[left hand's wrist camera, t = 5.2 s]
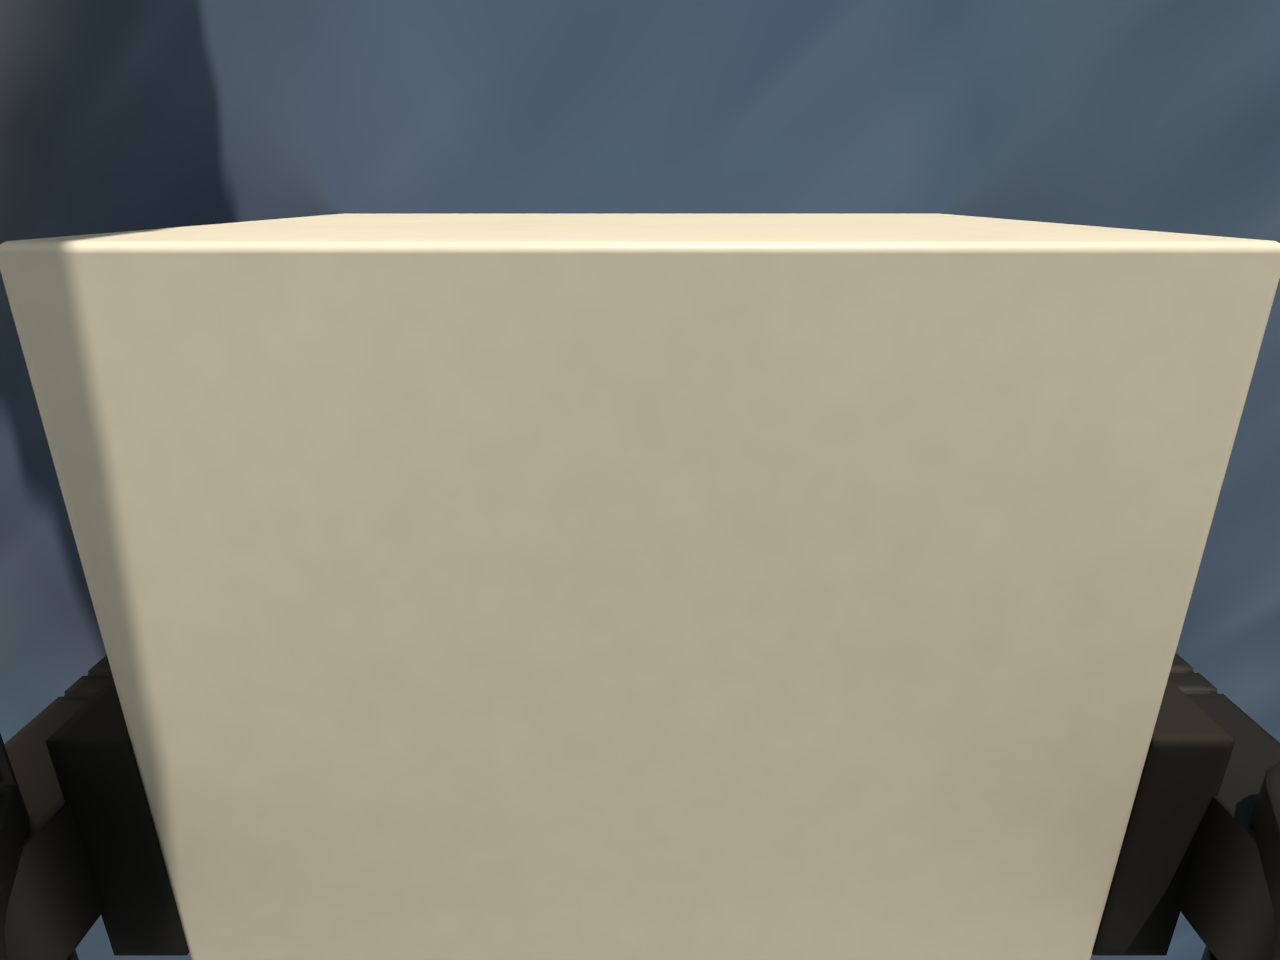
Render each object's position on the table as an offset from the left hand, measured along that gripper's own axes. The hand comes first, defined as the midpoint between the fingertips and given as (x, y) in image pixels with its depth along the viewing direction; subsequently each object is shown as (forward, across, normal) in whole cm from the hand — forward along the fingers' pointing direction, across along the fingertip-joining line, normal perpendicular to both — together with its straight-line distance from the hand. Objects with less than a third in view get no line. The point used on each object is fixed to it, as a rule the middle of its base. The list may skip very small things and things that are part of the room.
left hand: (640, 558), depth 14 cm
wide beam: (0, 0, -28) cm, 28 cm away
